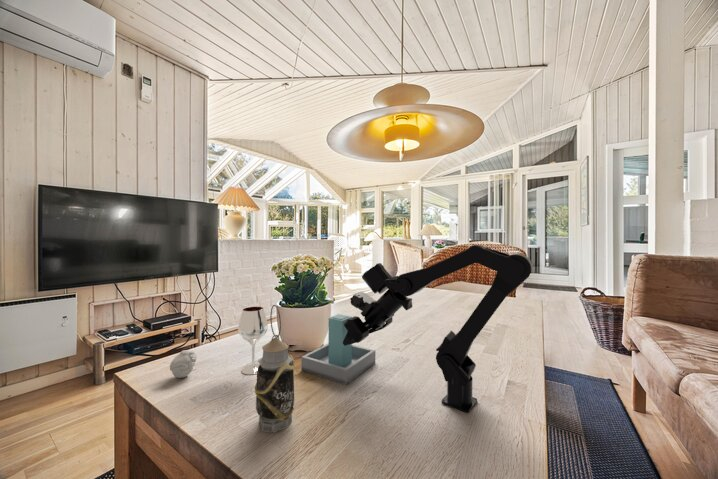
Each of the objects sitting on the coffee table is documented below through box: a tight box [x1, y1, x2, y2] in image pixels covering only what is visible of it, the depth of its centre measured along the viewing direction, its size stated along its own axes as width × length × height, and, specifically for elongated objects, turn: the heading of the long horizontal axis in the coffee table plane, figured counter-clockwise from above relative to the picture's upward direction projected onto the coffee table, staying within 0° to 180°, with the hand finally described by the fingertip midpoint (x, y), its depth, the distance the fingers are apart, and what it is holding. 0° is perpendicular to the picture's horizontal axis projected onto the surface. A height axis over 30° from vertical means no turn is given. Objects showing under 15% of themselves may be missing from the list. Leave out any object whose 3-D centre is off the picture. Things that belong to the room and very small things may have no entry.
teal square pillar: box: [328, 314, 353, 367], centre depth 89 cm, size 5×5×14 cm
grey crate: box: [300, 342, 376, 386], centre depth 89 cm, size 16×16×4 cm
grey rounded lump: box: [169, 349, 197, 379], centre depth 82 cm, size 6×7×7 cm
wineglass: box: [237, 306, 269, 376], centre depth 87 cm, size 8×8×18 cm
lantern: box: [254, 304, 296, 433], centre depth 62 cm, size 9×8×25 cm
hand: (352, 339), depth 86 cm, fingers open, 9 cm apart
